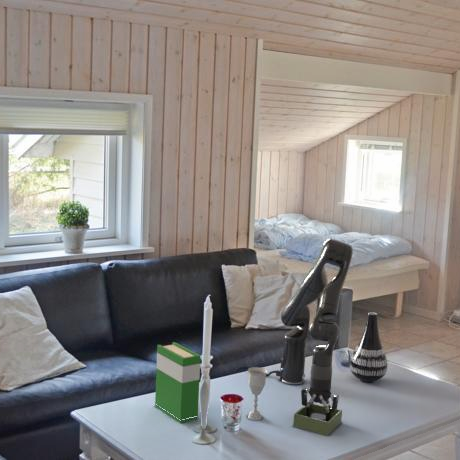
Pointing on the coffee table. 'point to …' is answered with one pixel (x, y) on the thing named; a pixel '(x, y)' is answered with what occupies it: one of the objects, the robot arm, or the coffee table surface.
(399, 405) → the coffee table surface
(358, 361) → the vase
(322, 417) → the blue round puck
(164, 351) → the hardback book
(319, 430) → the tub
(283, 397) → the coffee table surface
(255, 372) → the chalice
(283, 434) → the coffee table surface
